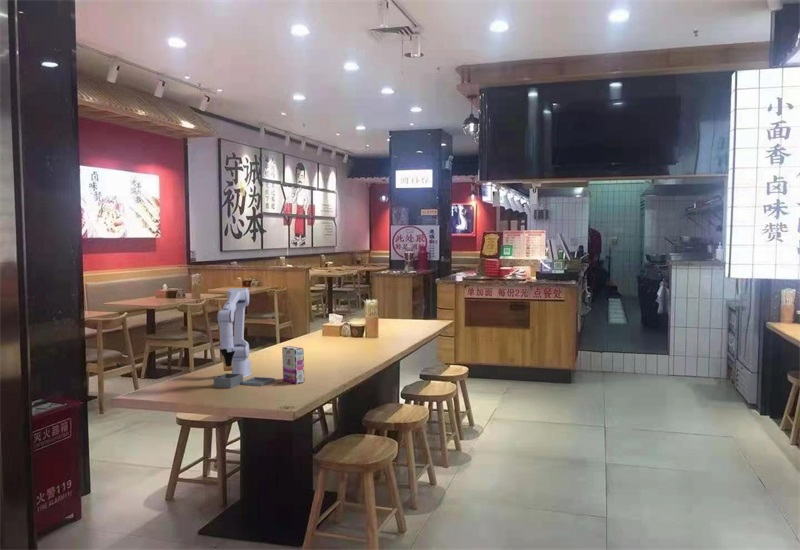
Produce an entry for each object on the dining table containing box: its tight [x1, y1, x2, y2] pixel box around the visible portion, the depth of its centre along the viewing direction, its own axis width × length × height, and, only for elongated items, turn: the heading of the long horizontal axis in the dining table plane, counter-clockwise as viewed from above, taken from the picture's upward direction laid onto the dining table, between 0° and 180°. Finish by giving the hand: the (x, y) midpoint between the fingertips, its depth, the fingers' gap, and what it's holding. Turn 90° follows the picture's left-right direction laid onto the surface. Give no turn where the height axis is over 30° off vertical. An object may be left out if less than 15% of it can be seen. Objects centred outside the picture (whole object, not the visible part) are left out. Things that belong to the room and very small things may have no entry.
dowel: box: [222, 356, 233, 372], centre depth 282 cm, size 4×4×7 cm
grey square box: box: [213, 372, 244, 389], centre depth 283 cm, size 9×9×5 cm
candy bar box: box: [281, 345, 305, 385], centre depth 288 cm, size 11×5×16 cm, turn 45°
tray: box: [241, 376, 276, 387], centre depth 286 cm, size 11×11×2 cm
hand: (227, 365), depth 282 cm, fingers closed on dowel, 4 cm apart
